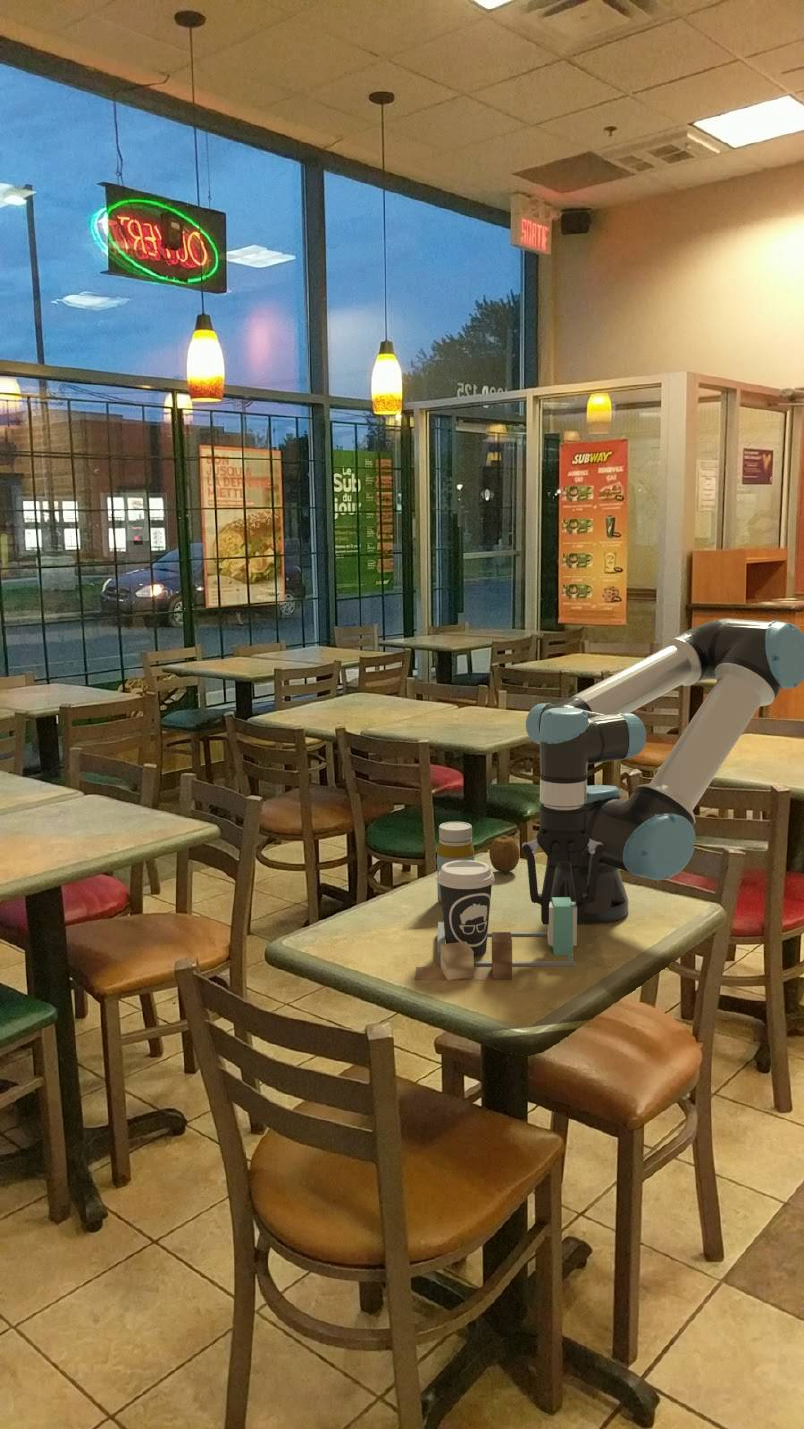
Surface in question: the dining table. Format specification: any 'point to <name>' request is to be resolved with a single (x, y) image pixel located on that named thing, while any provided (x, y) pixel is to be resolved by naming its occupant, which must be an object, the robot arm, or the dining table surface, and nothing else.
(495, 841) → the fruit
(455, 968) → the maple block
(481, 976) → the wooden l-shaped block
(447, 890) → the coffee cup
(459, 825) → the bottle
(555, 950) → the grey rectangular frame
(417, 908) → the dining table surface
